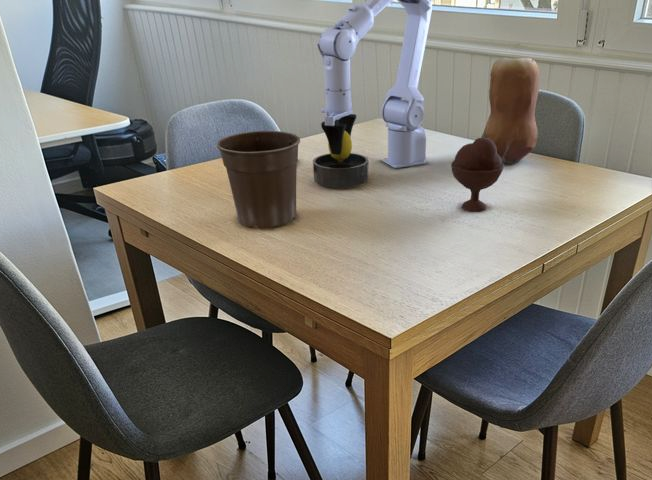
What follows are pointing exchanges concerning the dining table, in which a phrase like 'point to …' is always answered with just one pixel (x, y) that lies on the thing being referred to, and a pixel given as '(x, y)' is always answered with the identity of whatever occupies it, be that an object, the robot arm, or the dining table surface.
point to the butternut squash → (513, 107)
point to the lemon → (343, 148)
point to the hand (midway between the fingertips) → (340, 150)
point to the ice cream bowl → (477, 170)
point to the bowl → (341, 171)
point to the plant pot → (262, 176)
